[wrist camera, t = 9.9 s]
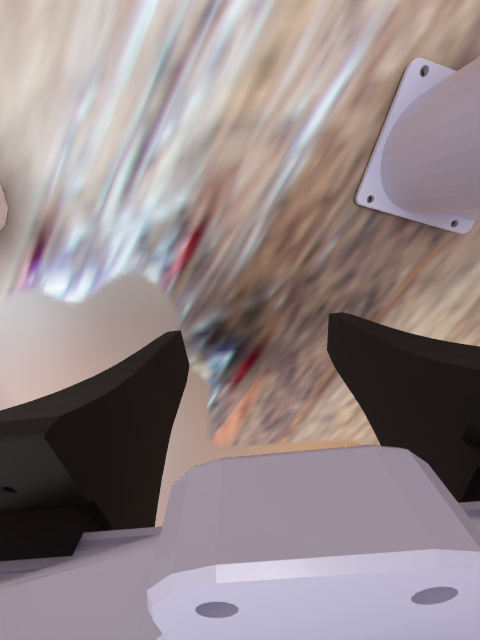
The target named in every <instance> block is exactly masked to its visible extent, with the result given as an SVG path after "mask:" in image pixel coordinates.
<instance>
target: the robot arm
mask: <svg viewBox="0 0 480 640" xmlns="http://www.w3.org/2000/svg"><path fill="white" fill-rule="evenodd" d="M421 69H423V70H424V76H423V77H422V76H421V75H420V70H421ZM368 196H371V201H370V203H368V202H367V198H368ZM355 202H356V204H358V205H360V206H364V207H367V208H371V209H374V210H378V211H381V212H385V213H388V214H392V215H395V216H399V217H402V218H406V219H409V220H413V221H416V222H420V223H423V224H427V225H430V226H434V227H437V228H441V229H444V230H448V231H451V232H455V233H458V234H465V233H467V232H469V231H470V229H471V228H472V226H473V225H474V223H475V222H476V221H480V56H479V57H478V58H476V59H475V60H473V61H472V62H470V63H469V64H467V65H466V66H464V67H463V68H461V69H460V70H458V71H456V70H453V69H450V68H448V67H445V66H442V65H440V64H437V63H434V62H432V61H429V60H426V59H424V58H420V57H418V58H415V59H414V60H413V61H412V62H411V63H410V64H409V65H408V66H407V68H406V70H405V72H404V75H403V77H402V80H401V82H400V85H399V87H398V90H397V92H396V95H395V97H394V100H393V103H392V105H391V108H390V110H389V113H388V115H387V118H386V120H385V123H384V125H383V128H382V130H381V133H380V135H379V138H378V140H377V143H376V146H375V148H374V151H373V153H372V156H371V158H370V161H369V163H368V166H367V168H366V171H365V173H364V176H363V178H362V181H361V183H360V186H359V188H358V191H357V194H356V196H355ZM453 221H454V224H453V225H452V226H451V223H452V222H453ZM327 351H328V353H329V356H330V358H331V360H332V362H333V364H334V366H335V368H336V370H337V371H338V373H339V374H340V376H341V378H342V379H343V381H344V382H345V384H346V385H347V387H348V388H349V390H350V391H351V393H352V394H353V396H354V397H355V399H356V400H357V402H358V403H359V405H360V406H361V408H362V410H363V411H364V413H365V415H366V417H367V419H368V421H369V423H370V425H371V426H372V428H373V430H374V432H375V434H376V436H377V438H378V440H379V442H380V445H381V446H376V445H362V446H351V447H340V448H328V449H317V450H307V451H295V452H284V453H273V454H263V455H252V456H239V457H228V458H221V459H218V460H214V461H211V462H207V463H203V464H200V465H196V466H194V467H193V468H191V469H190V470H189V471H187V472H186V473H185V474H184V475H183V476H182V477H181V478H180V479H179V480H178V481H177V482H176V483H174V485H172V489H171V492H170V496H169V501H168V505H167V509H166V513H165V517H164V521H163V526H162V527H155V520H156V513H157V505H158V499H159V493H160V486H161V480H162V475H163V470H164V464H165V459H166V453H167V449H168V444H169V438H170V434H171V430H172V426H173V423H174V419H175V417H176V414H177V411H178V408H179V404H180V401H181V398H182V395H183V392H184V389H185V385H186V382H187V376H188V371H189V361H188V358H187V354H186V350H185V346H184V342H183V338H182V334H181V330H180V331H171V332H167V333H165V334H163V335H162V336H160V337H158V338H157V339H155V340H154V341H152V342H151V343H149V344H148V345H147V346H145V347H143V348H142V349H141V350H139V351H137V352H136V353H134V354H133V355H131V356H129V357H128V358H126V359H125V360H123V361H122V362H120V363H118V364H117V365H115V366H113V367H111V368H109V369H107V370H105V371H103V372H101V373H99V374H97V375H95V376H94V377H91V378H89V379H86V380H84V381H82V382H80V383H77V384H75V385H73V386H71V387H68V388H66V389H63V390H61V391H58V392H55V393H53V394H50V395H47V396H45V397H42V398H39V399H36V400H33V401H30V402H28V403H24V404H21V405H18V406H14V407H11V408H8V409H5V410H1V411H0V640H480V347H479V346H471V345H465V344H459V343H453V342H447V341H442V340H437V339H432V338H428V337H423V336H419V335H415V334H411V333H407V332H404V331H400V330H397V329H393V328H390V327H387V326H384V325H381V324H378V323H375V322H372V321H369V320H366V319H363V318H360V317H357V316H354V315H351V314H347V313H343V312H341V313H332V314H329V323H328V343H327Z"/></svg>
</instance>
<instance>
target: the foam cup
mask: <svg viewBox="0 0 480 640" xmlns="http://www.w3.org/2000/svg"><path fill="white" fill-rule="evenodd" d="M7 213H8V206H7V202H6V199H5V195H4V192H3V188H2V186H1V184H0V230H1V229H2V228H3V227H4V226H5V223H6V218H7Z"/></svg>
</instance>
